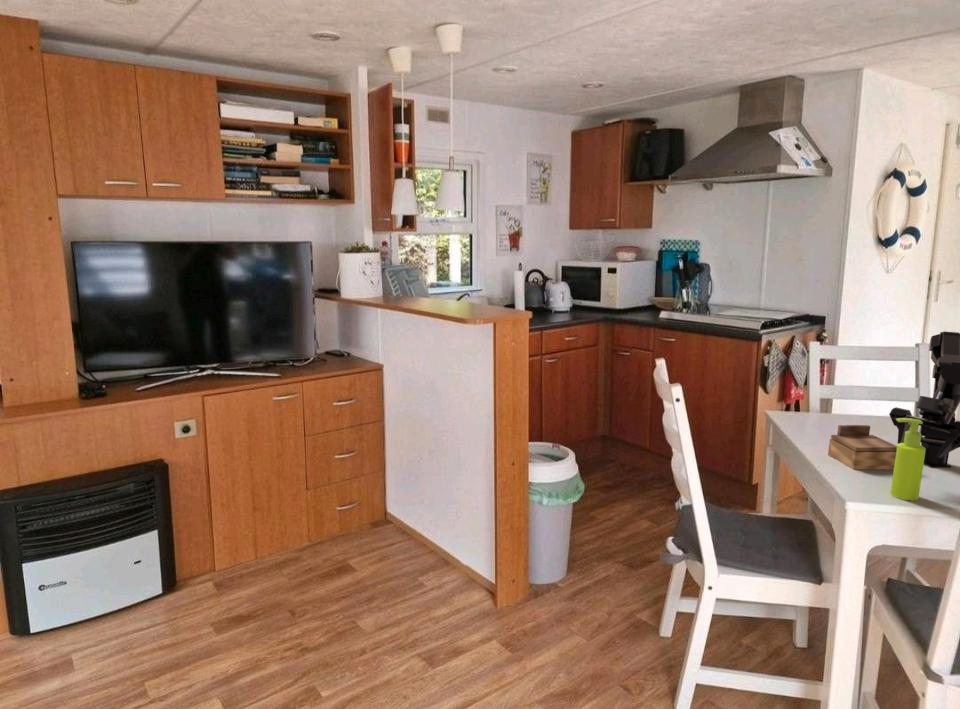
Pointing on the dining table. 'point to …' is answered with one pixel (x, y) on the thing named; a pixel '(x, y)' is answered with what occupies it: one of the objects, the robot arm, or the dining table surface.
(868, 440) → the lid
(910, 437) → the soap dispenser
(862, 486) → the dining table surface
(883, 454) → the wooden box
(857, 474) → the dining table surface
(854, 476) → the dining table surface
